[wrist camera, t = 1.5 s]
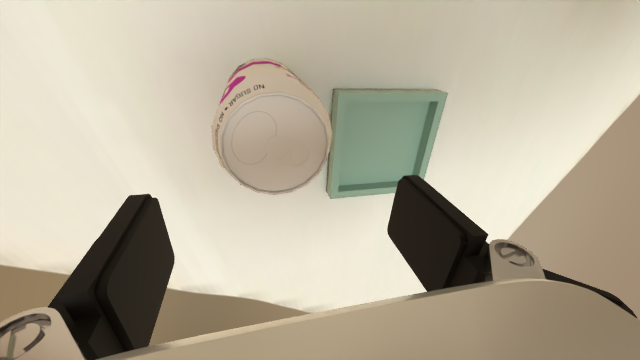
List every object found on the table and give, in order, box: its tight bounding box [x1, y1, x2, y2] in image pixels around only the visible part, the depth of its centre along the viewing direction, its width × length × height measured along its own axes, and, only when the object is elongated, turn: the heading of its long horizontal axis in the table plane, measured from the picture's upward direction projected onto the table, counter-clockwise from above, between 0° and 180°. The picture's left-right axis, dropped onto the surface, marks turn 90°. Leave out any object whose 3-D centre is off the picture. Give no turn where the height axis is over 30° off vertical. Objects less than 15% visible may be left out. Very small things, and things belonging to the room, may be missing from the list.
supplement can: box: [212, 59, 332, 195], centre depth 23 cm, size 8×8×15 cm
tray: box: [326, 89, 448, 199], centre depth 35 cm, size 14×14×2 cm
